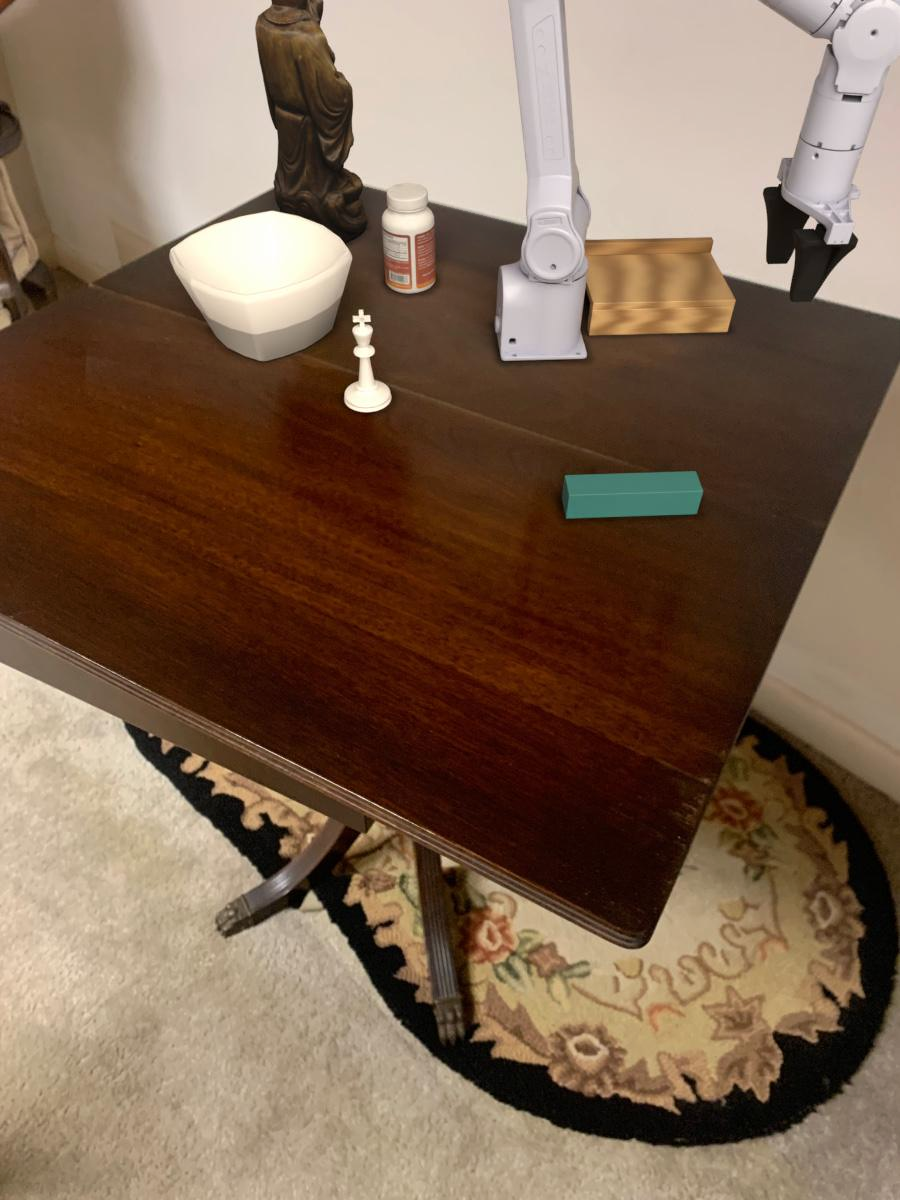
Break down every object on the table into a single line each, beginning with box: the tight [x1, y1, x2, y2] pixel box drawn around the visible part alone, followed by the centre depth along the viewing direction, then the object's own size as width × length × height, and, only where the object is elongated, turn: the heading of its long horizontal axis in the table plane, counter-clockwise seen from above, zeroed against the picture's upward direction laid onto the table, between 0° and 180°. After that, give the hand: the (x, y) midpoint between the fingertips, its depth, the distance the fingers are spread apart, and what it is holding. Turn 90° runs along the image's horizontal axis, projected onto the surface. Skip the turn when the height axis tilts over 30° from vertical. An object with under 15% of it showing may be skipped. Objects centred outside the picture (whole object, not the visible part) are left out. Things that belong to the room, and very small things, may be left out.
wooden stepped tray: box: [584, 236, 737, 336], centre depth 103 cm, size 16×12×6 cm
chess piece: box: [343, 309, 392, 413], centre depth 88 cm, size 5×5×10 cm
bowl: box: [168, 210, 353, 362], centre depth 98 cm, size 18×18×9 cm
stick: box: [561, 470, 704, 520], centre depth 80 cm, size 12×3×3 cm, turn 93°
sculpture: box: [254, 0, 368, 243], centre depth 108 cm, size 12×13×30 cm
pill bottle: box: [381, 182, 437, 295], centre depth 104 cm, size 6×6×11 cm
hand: (788, 280), depth 90 cm, fingers open, 7 cm apart
